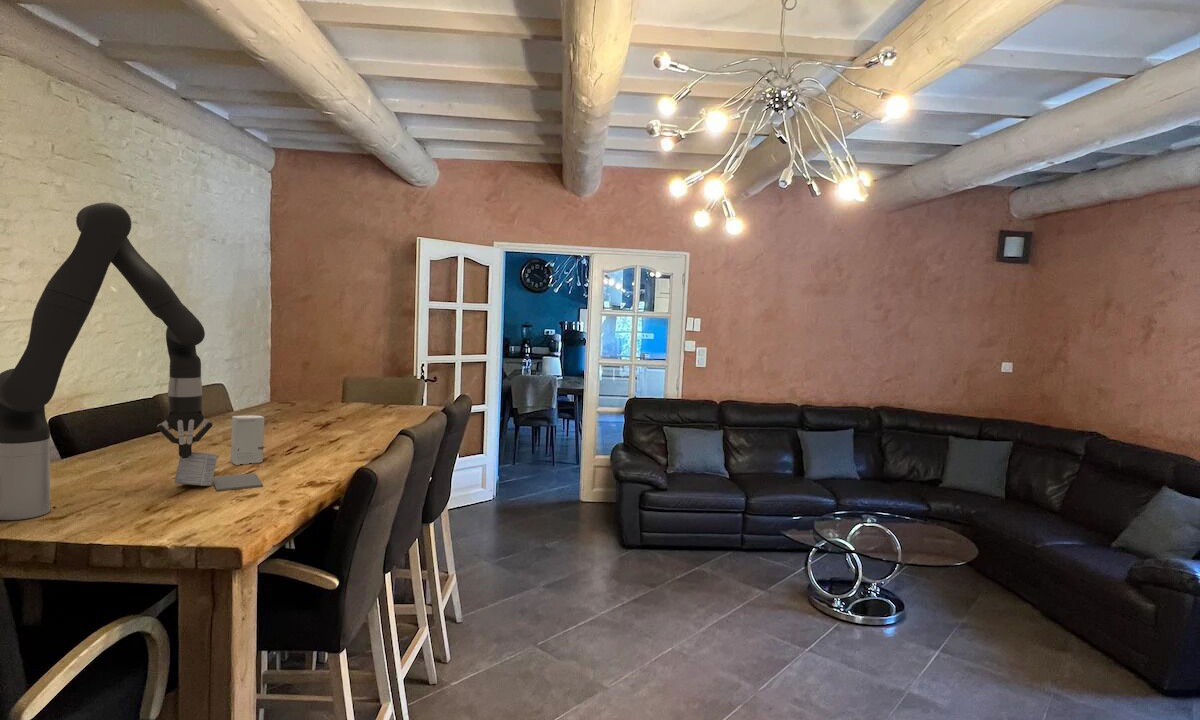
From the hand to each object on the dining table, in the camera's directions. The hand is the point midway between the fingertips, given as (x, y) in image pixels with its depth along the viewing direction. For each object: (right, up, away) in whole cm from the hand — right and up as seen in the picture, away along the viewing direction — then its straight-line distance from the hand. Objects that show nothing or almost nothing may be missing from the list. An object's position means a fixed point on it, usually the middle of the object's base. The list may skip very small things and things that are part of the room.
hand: (185, 457), depth 170 cm
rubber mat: (+10, -8, +8) cm, 15 cm away
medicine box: (+1, -8, +1) cm, 8 cm away
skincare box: (-1, -7, +31) cm, 32 cm away
